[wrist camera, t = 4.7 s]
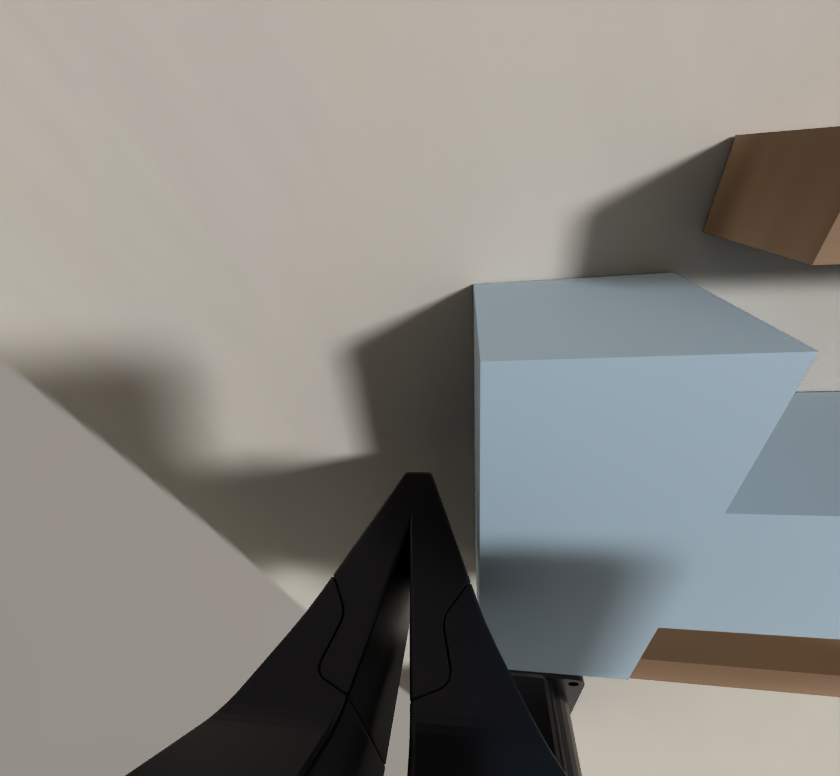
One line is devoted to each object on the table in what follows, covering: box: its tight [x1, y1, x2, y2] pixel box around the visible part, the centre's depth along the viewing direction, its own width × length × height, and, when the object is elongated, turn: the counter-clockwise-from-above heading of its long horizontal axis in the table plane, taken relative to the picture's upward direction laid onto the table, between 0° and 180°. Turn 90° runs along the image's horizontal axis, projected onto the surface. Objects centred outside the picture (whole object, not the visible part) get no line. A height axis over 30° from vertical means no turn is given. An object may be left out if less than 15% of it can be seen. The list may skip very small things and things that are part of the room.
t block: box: [474, 273, 840, 680], centre depth 8 cm, size 10×11×4 cm
